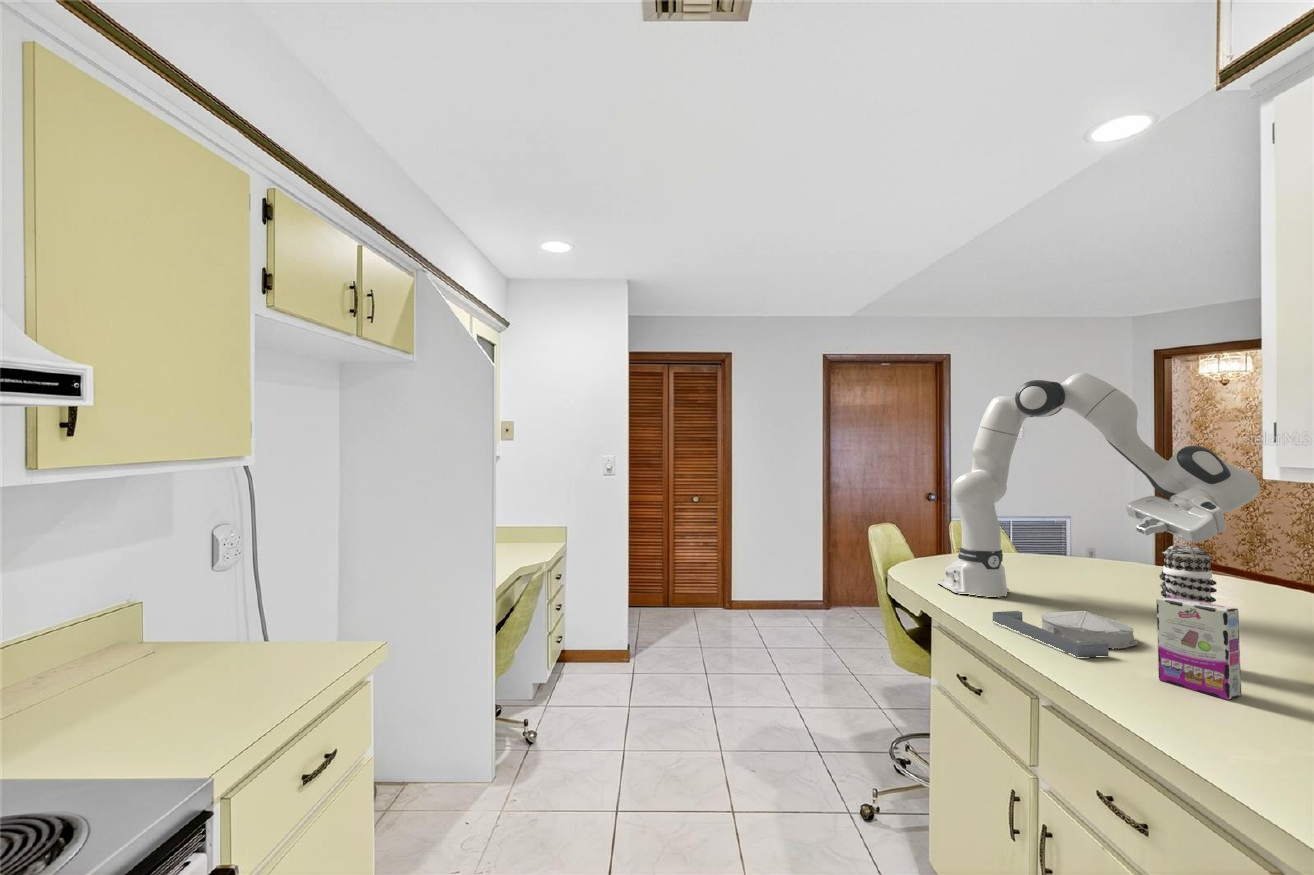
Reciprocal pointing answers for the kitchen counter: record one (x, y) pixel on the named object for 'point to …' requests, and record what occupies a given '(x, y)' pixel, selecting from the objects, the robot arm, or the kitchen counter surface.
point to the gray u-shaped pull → (1050, 636)
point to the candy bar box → (1199, 646)
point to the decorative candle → (1187, 574)
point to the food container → (1088, 628)
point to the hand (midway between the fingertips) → (1140, 531)
